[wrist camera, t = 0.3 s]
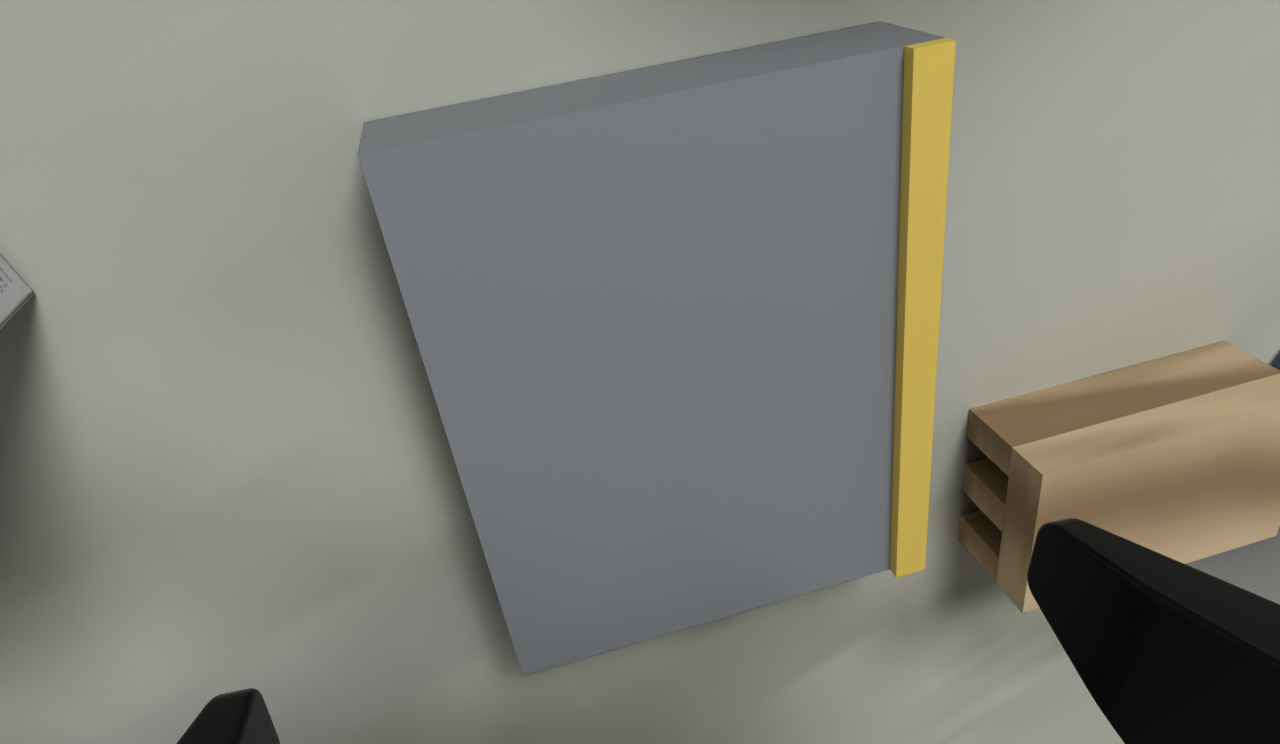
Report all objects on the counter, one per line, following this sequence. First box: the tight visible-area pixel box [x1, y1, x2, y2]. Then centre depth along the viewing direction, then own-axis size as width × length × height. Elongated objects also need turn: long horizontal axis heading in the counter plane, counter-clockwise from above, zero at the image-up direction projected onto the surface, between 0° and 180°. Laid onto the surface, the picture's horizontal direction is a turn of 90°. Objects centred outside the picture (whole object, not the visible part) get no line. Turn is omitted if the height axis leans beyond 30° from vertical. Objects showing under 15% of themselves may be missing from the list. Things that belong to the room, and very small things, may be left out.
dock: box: [358, 22, 956, 676], centre depth 23 cm, size 16×13×3 cm
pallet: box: [958, 341, 1280, 614], centre depth 29 cm, size 6×10×4 cm, turn 98°
